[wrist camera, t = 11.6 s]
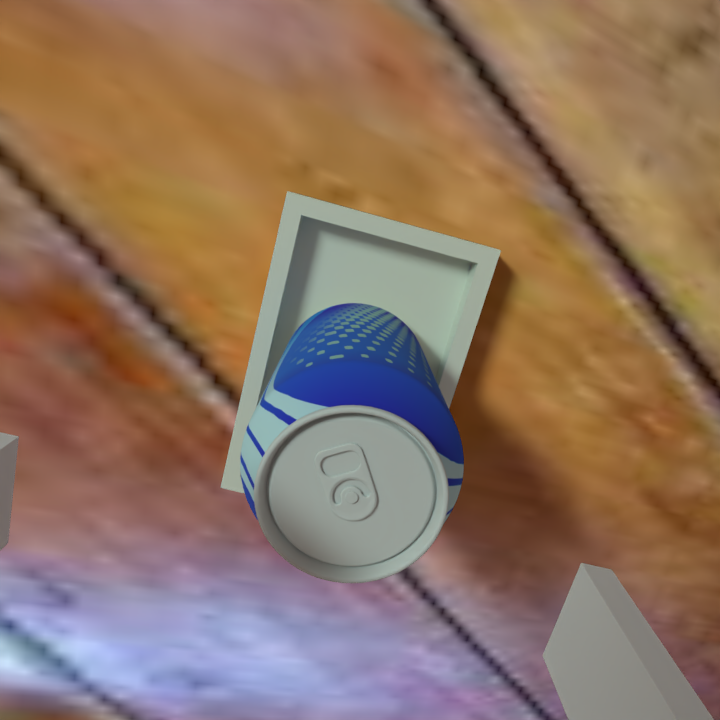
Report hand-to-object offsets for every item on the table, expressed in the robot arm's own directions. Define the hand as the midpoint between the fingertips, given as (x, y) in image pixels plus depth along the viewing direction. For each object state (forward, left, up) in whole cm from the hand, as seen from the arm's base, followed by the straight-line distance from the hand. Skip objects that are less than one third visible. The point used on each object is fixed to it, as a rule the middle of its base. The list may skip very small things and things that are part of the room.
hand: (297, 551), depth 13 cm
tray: (+2, +2, -23) cm, 23 cm away
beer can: (+1, +2, -22) cm, 22 cm away
